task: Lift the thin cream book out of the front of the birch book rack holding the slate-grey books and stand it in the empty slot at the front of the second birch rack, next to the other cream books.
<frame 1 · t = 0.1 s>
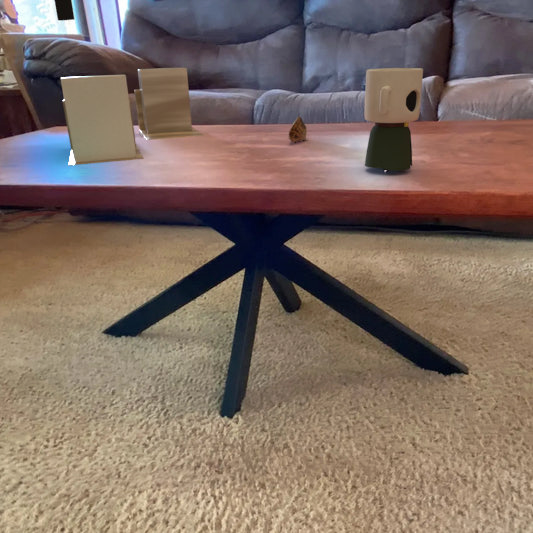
hand: (26, 18, 70), 21 cm above the table, tool pointing down, fingers open, 13 cm apart
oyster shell: (294, 142, 95), on the table
cream rack: (170, 136, 104), on the table
character mug: (387, 171, 70), on the table
grey rack: (106, 158, 84), on the table
cream book: (106, 158, 79), point 1 cm above the table, touching grey rack
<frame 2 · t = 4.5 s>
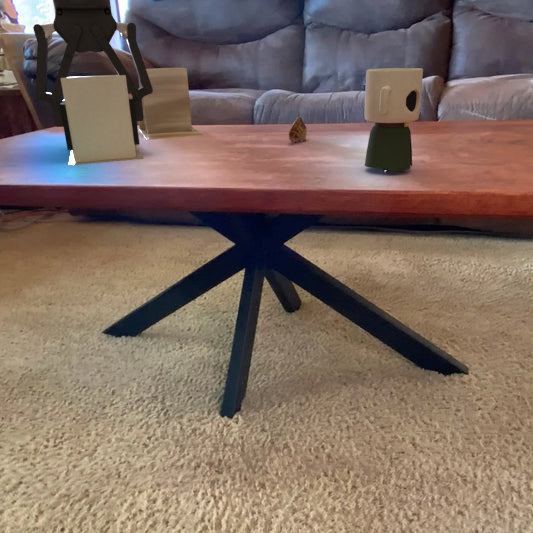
hand: (104, 145, 78), 3 cm above the table, tool pointing down, fingers closed on cream book, 9 cm apart
cream book: (106, 158, 79), point 1 cm above the table, touching grey rack, gripper
everything else where it was.
when the fingers open (3 cm above the table, at t = 13.9 s): cream book stays where it is, resting on cream rack.
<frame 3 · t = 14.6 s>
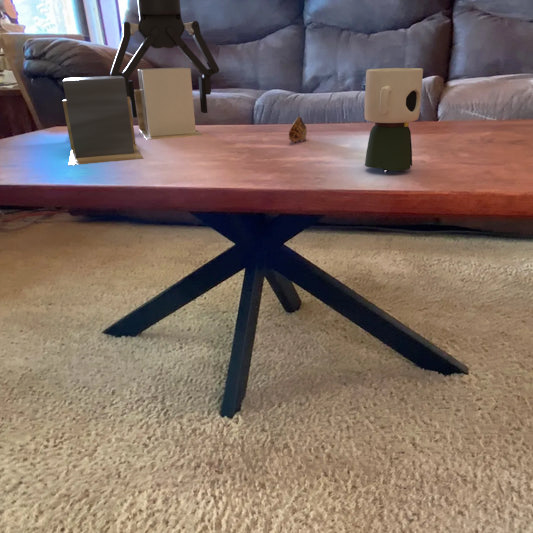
hand: (170, 114, 100), 5 cm above the table, tool pointing down, fingers open, 13 cm apart
cream book: (172, 133, 101), point 1 cm above the table, touching cream rack
everything else where it was.
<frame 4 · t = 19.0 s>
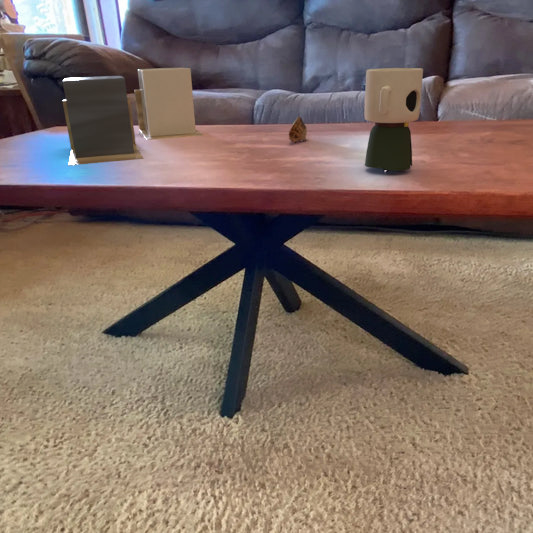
nothing on the table moved.
at the end: cream book 0.1 cm from the target spot on the cream rack, point 1.0 cm above the cream rack's base; cream book tilted 0°; the gripper is holding nothing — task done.
